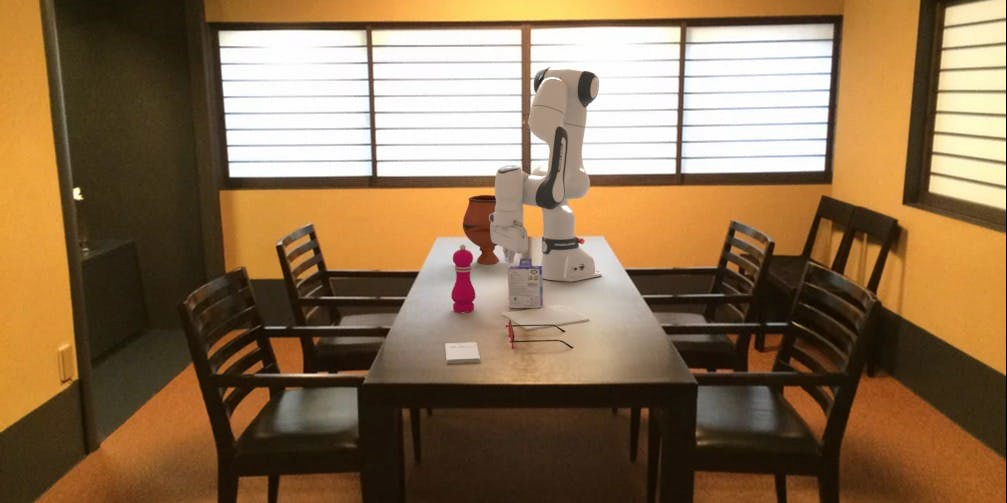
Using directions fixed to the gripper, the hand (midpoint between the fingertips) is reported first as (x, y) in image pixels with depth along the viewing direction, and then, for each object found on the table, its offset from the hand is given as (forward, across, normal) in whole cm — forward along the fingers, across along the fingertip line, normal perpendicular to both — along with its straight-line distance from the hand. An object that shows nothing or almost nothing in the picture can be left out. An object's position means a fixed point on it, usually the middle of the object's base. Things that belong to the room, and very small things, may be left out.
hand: (509, 262), depth 237 cm
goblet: (+12, +50, -15) cm, 54 cm away
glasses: (+12, -41, +11) cm, 44 cm away
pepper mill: (+12, -6, +18) cm, 22 cm away
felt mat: (+12, -24, 0) cm, 26 cm away
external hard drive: (+12, -42, +33) cm, 55 cm away
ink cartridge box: (+12, -12, 0) cm, 17 cm away
